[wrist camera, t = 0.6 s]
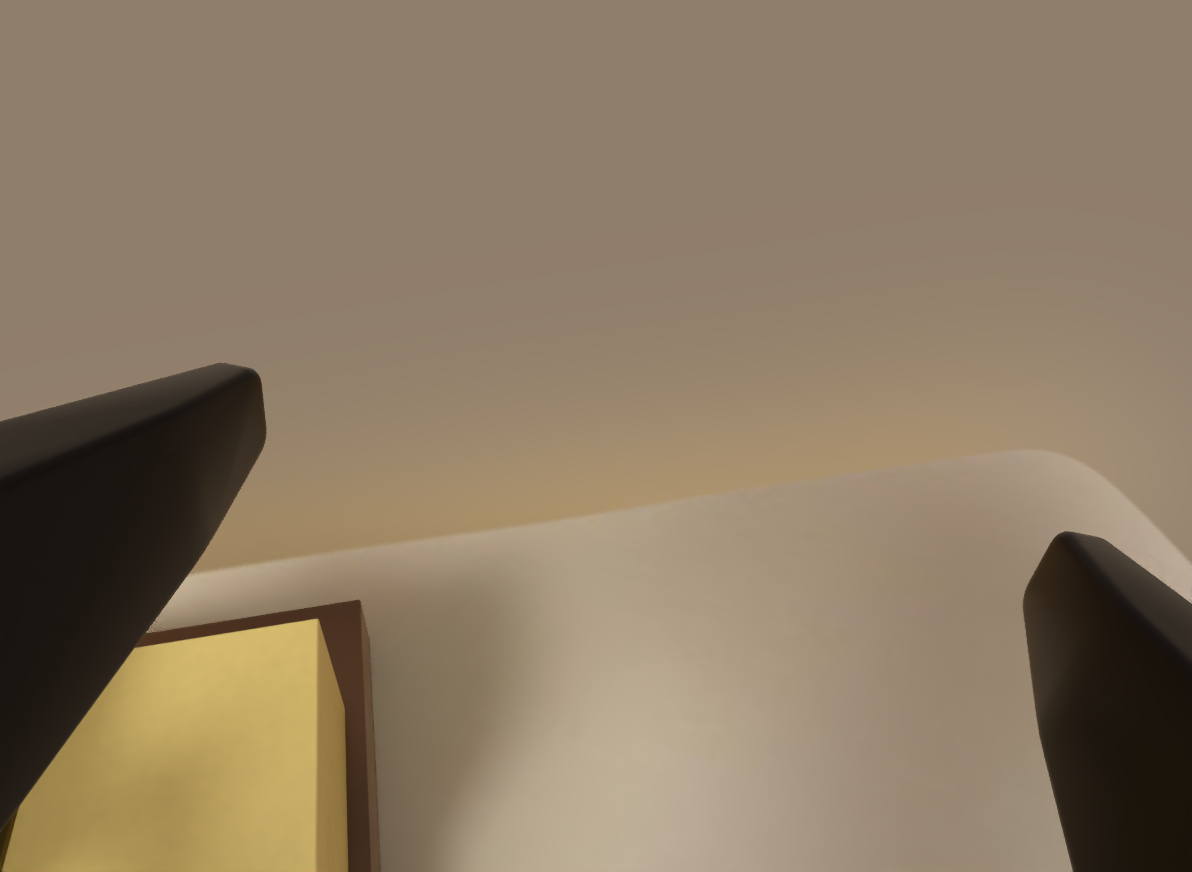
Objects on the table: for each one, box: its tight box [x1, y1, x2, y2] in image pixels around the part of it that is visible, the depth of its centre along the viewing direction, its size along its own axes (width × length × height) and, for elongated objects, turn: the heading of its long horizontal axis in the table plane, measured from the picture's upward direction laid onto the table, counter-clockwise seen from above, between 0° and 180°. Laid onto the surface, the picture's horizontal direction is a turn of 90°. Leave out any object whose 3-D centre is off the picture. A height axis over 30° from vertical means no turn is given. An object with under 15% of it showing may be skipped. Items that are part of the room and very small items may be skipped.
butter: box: [0, 619, 348, 872], centre depth 18 cm, size 6×9×4 cm, turn 104°
